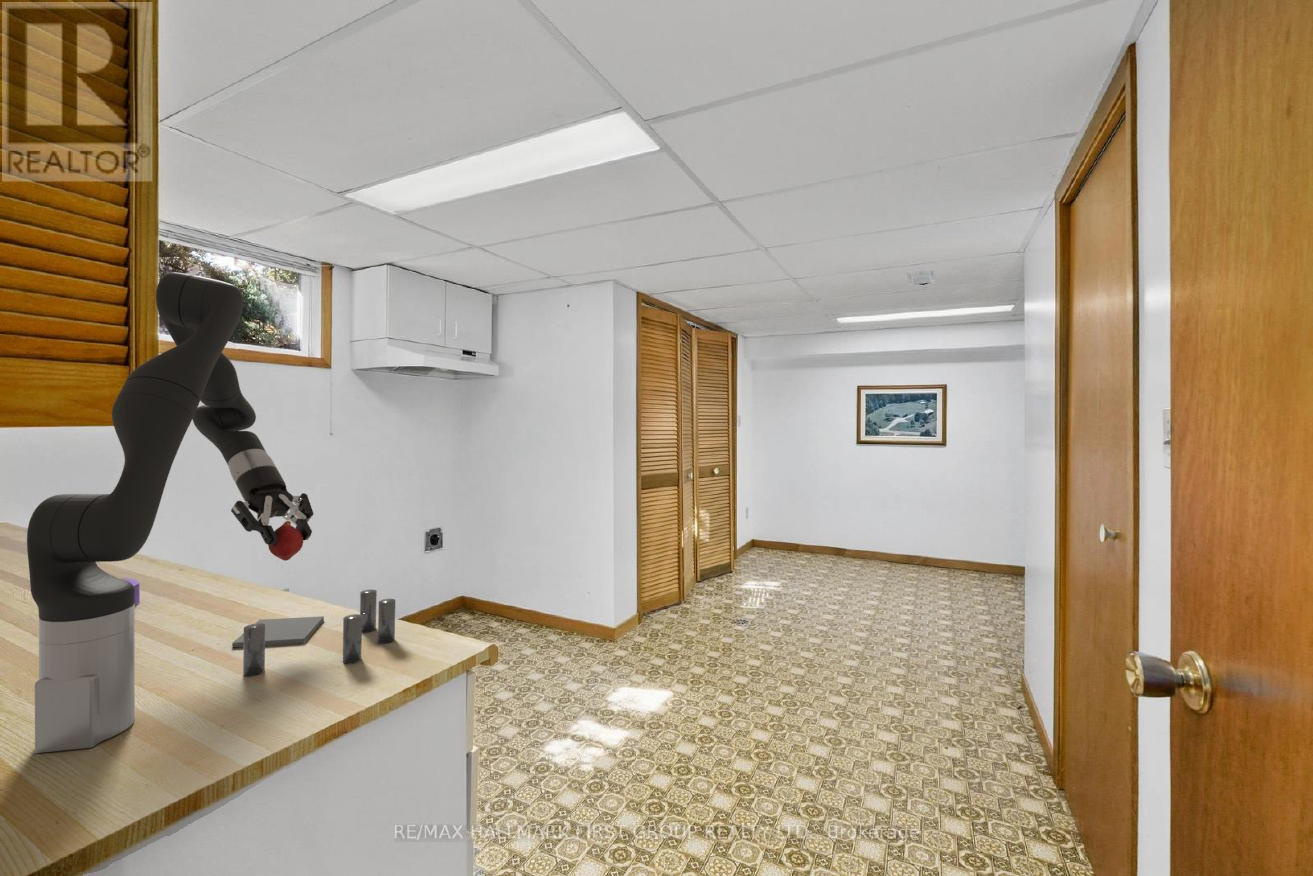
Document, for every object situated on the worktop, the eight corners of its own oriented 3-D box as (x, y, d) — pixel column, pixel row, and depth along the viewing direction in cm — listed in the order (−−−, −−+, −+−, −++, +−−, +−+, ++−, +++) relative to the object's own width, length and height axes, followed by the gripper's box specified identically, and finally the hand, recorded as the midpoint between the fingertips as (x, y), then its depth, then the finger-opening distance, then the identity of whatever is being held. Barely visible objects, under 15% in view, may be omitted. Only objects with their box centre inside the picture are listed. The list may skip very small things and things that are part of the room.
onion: (285, 566, 107) (285, 525, 107) (260, 562, 108) (261, 522, 108) (309, 558, 113) (310, 519, 112) (286, 555, 114) (286, 517, 114)
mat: (304, 643, 107) (304, 638, 107) (232, 648, 104) (232, 642, 104) (323, 620, 119) (323, 616, 119) (259, 624, 116) (259, 619, 116)
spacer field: (381, 666, 99) (382, 622, 99) (239, 676, 93) (240, 630, 93) (401, 624, 118) (402, 588, 118) (284, 631, 112) (285, 593, 112)
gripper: (224, 466, 106) (261, 536, 102) (300, 462, 119) (335, 523, 115) (209, 491, 109) (244, 560, 104) (284, 483, 122) (318, 544, 117)
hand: (291, 540), depth 110 cm, fingers closed on onion, 5 cm apart
